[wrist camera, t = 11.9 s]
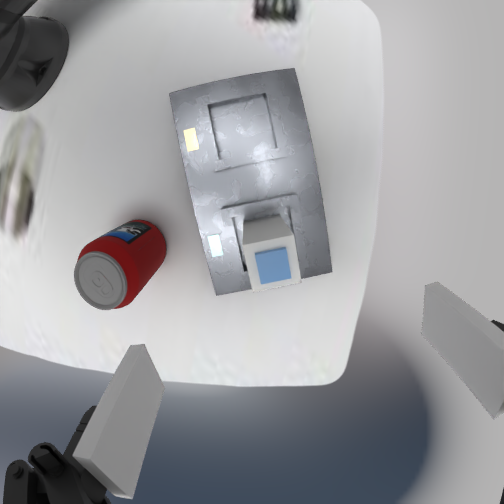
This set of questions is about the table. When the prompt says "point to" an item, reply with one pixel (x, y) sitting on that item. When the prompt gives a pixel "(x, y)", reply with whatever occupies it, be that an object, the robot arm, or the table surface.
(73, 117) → the table surface
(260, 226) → the plug
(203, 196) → the grey socket board
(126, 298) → the beverage can
